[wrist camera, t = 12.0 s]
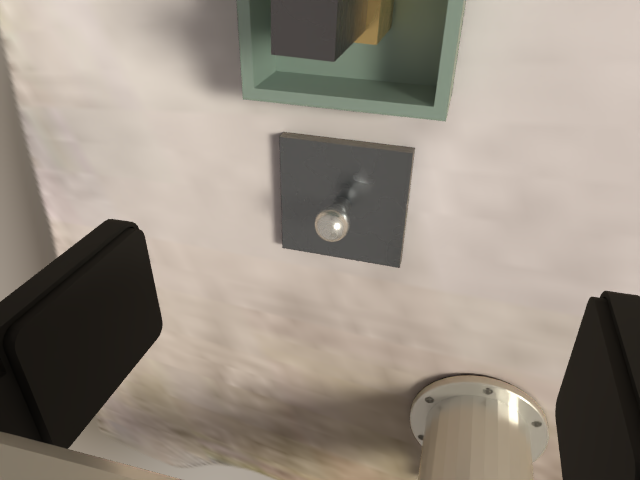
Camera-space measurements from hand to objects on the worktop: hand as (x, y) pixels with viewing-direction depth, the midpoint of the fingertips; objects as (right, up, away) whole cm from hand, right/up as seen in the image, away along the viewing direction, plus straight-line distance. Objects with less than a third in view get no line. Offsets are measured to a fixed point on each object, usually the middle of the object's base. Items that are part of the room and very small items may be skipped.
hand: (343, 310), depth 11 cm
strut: (+2, +17, +22) cm, 28 cm away
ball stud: (+1, +5, +31) cm, 31 cm away
